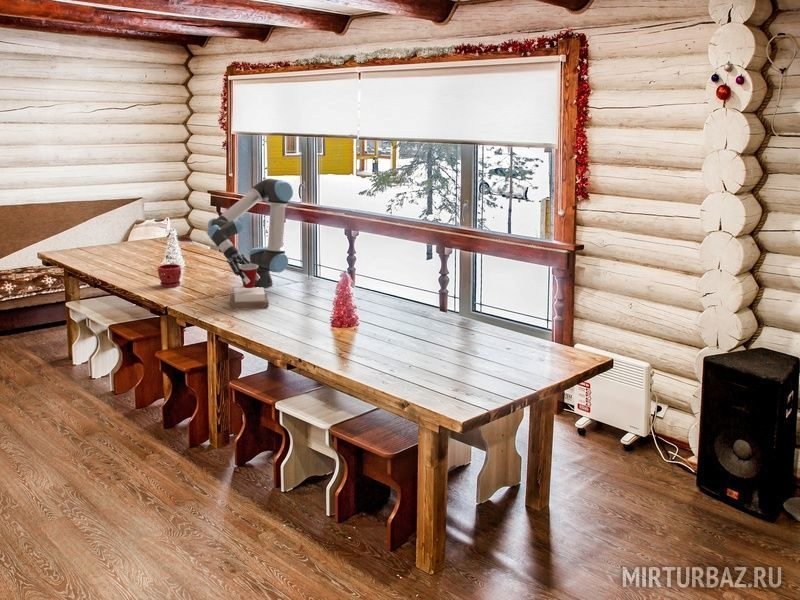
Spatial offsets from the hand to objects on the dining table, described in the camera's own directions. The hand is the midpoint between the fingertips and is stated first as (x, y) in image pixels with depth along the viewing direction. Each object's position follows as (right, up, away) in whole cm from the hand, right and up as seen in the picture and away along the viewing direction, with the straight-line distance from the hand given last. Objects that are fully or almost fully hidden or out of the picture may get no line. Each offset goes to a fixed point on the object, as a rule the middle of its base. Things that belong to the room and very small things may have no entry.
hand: (253, 280), depth 440 cm
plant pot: (-58, -2, +41) cm, 71 cm away
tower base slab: (-3, -13, +4) cm, 14 cm away
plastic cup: (-3, -4, +2) cm, 5 cm away
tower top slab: (-3, -9, +4) cm, 10 cm away
